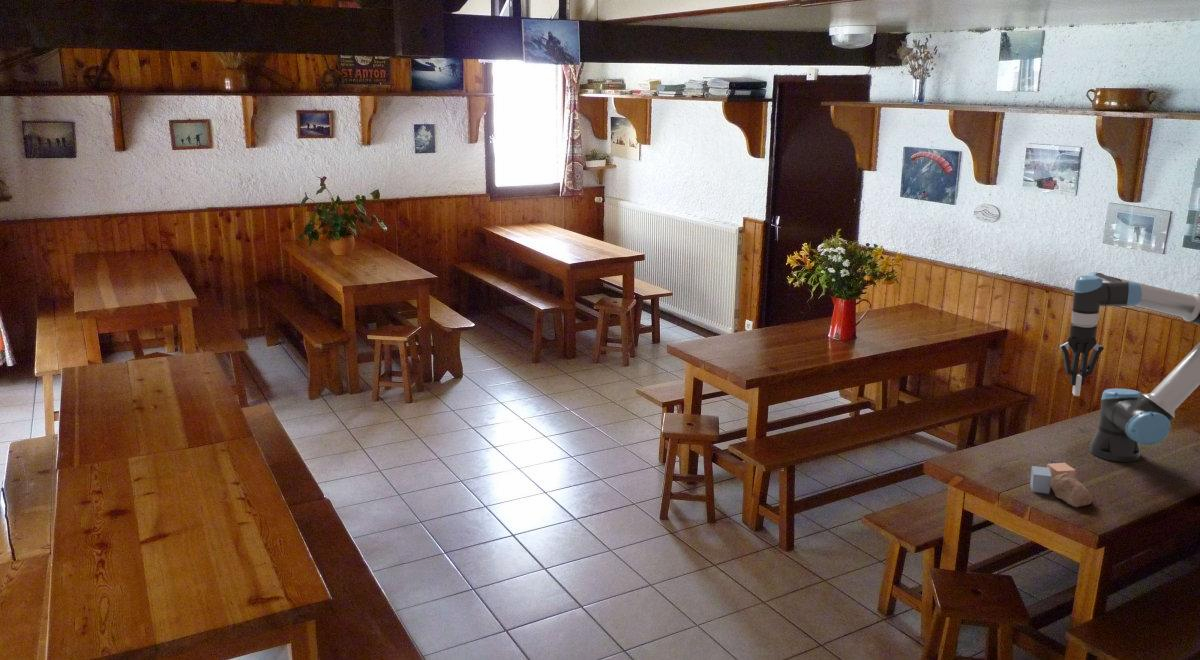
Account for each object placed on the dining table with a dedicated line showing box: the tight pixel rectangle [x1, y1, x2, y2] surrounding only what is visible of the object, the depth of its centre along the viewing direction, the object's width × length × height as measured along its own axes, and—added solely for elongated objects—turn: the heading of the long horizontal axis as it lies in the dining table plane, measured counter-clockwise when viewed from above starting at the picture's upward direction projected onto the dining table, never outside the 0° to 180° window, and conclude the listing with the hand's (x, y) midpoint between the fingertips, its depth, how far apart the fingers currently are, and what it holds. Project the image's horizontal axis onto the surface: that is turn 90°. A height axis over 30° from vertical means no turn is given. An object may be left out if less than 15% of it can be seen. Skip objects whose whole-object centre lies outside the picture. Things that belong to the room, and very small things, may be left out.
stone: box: [1050, 473, 1094, 508], centre depth 285 cm, size 12×9×10 cm
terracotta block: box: [1046, 462, 1077, 487], centre depth 297 cm, size 6×6×6 cm
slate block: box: [1029, 465, 1051, 495], centre depth 294 cm, size 5×7×6 cm
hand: (1075, 394), depth 301 cm, fingers closed
